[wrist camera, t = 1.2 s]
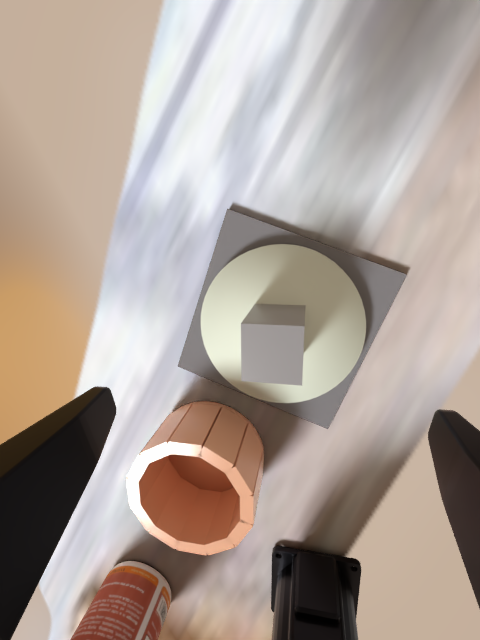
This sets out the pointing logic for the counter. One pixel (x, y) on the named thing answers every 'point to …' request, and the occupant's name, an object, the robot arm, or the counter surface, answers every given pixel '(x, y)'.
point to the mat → (367, 276)
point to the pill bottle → (127, 605)
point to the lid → (283, 323)
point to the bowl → (199, 479)
